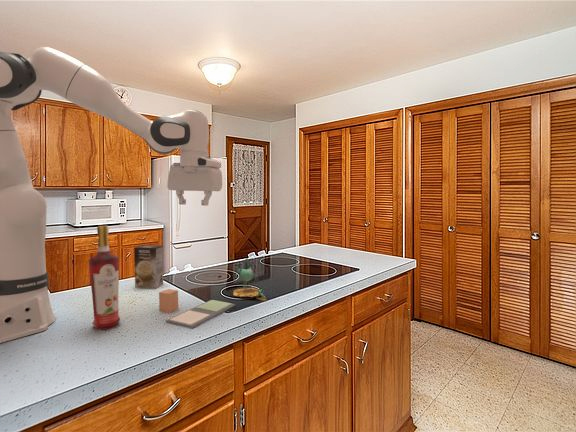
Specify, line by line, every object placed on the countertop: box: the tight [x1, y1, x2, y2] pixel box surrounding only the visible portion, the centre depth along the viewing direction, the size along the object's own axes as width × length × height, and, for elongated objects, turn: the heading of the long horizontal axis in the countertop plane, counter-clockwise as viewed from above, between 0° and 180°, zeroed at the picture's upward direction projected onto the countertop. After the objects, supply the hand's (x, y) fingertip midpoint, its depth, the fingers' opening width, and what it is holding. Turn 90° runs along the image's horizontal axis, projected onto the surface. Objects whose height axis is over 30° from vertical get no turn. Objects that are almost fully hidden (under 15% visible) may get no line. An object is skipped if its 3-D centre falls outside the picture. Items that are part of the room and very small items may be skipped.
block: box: [158, 288, 179, 314], centre depth 105 cm, size 4×4×6 cm
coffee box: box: [133, 244, 164, 290], centre depth 130 cm, size 9×6×16 cm
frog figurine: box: [232, 257, 267, 302], centre depth 119 cm, size 10×18×15 cm, turn 34°
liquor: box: [88, 225, 121, 330], centre depth 91 cm, size 7×7×28 cm
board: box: [165, 299, 236, 329], centre depth 101 cm, size 20×10×1 cm, turn 154°
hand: (193, 205), depth 107 cm, fingers open, 8 cm apart
